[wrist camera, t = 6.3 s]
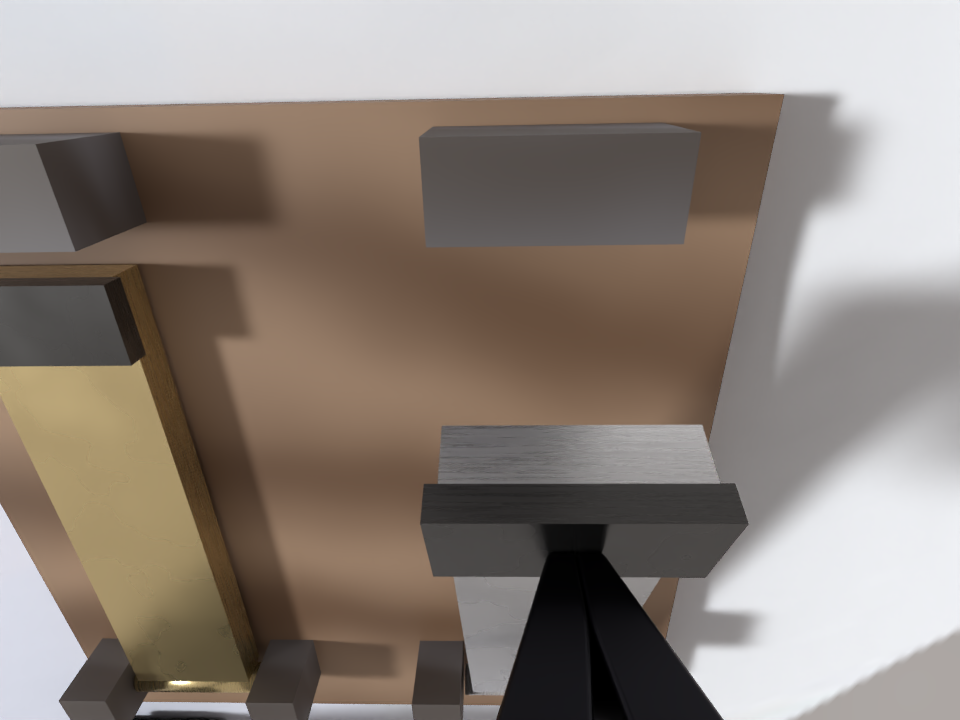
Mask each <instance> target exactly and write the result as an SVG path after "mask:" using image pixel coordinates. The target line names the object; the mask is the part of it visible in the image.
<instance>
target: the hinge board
mask: <svg viewBox="0 0 960 720" xmlns="http://www.w3.org/2000/svg"><path fill="white" fill-rule="evenodd" d="M783 97H784V94H764V93H726V94H675V95H624V96H573V97H522V98H471V99H420V100H369V101H318V102H267V103H216V104H165V105H113V106H62V107H11V108H0V266H44V265H129V264H137V265H138V268H139V271H140V275H141V278H142V281H143V284H144V287H145V291H146V294H147V297H148V300H149V303H150V307H151V310H152V313H153V316H154V319H155V323H156V326H157V329H158V332H159V335H160V339H161V342H162V345H163V348H164V351H165V355H166V358H167V361H168V364H169V367H170V370H171V374H172V377H173V380H174V383H175V386H176V390H177V393H178V396H179V399H180V402H181V406H182V409H183V412H184V415H185V418H186V422H187V425H188V428H189V431H190V434H191V438H192V441H193V444H194V447H195V450H196V454H197V457H198V460H199V463H200V466H201V470H202V473H203V476H204V479H205V482H206V486H207V489H208V492H209V495H210V498H211V502H212V505H213V508H214V511H215V514H216V518H217V521H218V524H219V527H220V530H221V534H222V537H223V540H224V543H225V546H226V550H227V553H228V556H229V559H230V562H231V566H232V569H233V572H234V575H235V578H236V581H237V585H238V588H239V591H240V594H241V597H242V601H243V604H244V607H245V610H246V613H247V617H248V620H249V623H250V626H251V629H252V633H253V636H254V639H255V642H256V645H257V649H258V652H259V655H260V656H259V658H258V661H257V662H261V665H260V667H259V670H258V672H257V675H256V677H255V680H254V682H253V685H252V687H251V690H250V693H203V692H136V691H135V689H134V677H135V673H134V671H133V668H132V666H131V664H130V662H129V660H128V658H127V656H126V654H125V652H124V650H123V648H122V646H121V644H120V642H119V640H118V638H117V636H116V633H115V631H114V629H113V627H112V625H111V623H110V621H109V619H108V617H107V615H106V613H105V611H104V609H103V607H102V605H101V603H100V601H99V598H98V596H97V594H96V592H95V590H94V588H93V586H92V584H91V582H90V580H89V578H88V576H87V574H86V572H85V570H84V568H83V565H82V563H81V561H80V559H79V557H78V555H77V553H76V551H75V549H74V547H73V545H72V543H71V541H70V539H69V537H68V535H67V533H66V530H65V528H64V526H63V524H62V522H61V520H60V518H59V516H58V514H57V512H56V510H55V508H54V506H53V504H52V502H51V500H50V498H49V495H48V493H47V491H46V489H45V487H44V485H43V483H42V481H41V479H40V477H39V475H38V473H37V471H36V469H35V467H34V465H33V462H32V460H31V458H30V456H29V454H28V452H27V450H26V448H25V446H24V444H23V442H22V440H21V438H20V436H19V434H18V432H17V430H16V427H15V425H14V423H13V421H12V419H11V417H10V415H9V413H8V411H7V409H6V407H5V405H4V403H3V401H2V399H1V397H0V503H1V505H2V507H3V509H4V511H5V512H6V514H7V516H8V518H9V519H10V521H11V523H12V525H13V527H14V528H15V530H16V532H17V534H18V535H19V537H20V539H21V541H22V543H23V544H24V546H25V548H26V550H27V551H28V553H29V555H30V557H31V559H32V560H33V562H34V564H35V566H36V568H37V569H38V571H39V573H40V575H41V576H42V578H43V580H44V582H45V584H46V585H47V587H48V589H49V591H50V592H51V594H52V596H53V598H54V600H55V601H56V603H57V605H58V607H59V608H60V610H61V612H62V614H63V616H64V617H65V619H66V621H67V623H68V624H69V626H70V628H71V630H72V632H73V633H74V635H75V637H76V639H77V640H78V642H79V644H80V646H81V648H82V649H83V651H84V653H85V655H86V656H87V658H88V660H87V661H86V662H85V664H84V665H83V667H82V668H81V670H80V671H79V672H78V674H77V675H76V677H75V678H74V680H73V681H72V683H71V684H70V685H69V687H68V688H67V690H66V691H65V693H64V694H63V695H62V697H61V698H60V700H59V702H60V704H61V705H62V707H63V709H64V710H65V712H66V713H67V715H68V716H69V718H70V720H133V718H134V716H135V715H136V713H137V711H138V709H139V708H140V706H141V704H142V702H232V703H246V706H247V709H248V711H249V714H250V717H251V719H252V720H308V717H309V714H310V710H311V707H312V703H331V704H412V711H413V718H414V720H463V705H501V703H502V700H503V696H504V695H465V666H466V663H468V659H467V653H466V648H465V642H464V636H463V630H462V624H461V618H460V612H459V606H458V601H457V595H456V589H455V583H454V577H433V574H432V570H431V566H430V562H429V558H428V554H427V550H426V546H425V542H424V538H423V534H422V530H421V526H420V519H421V508H422V496H423V485H424V484H438V471H439V457H440V443H441V429H442V426H478V425H702V426H703V429H704V432H705V435H706V439H707V442H709V437H710V433H711V428H712V424H713V419H714V414H715V410H716V405H717V401H718V396H719V391H720V387H721V382H722V378H723V373H724V368H725V364H726V359H727V355H728V350H729V345H730V341H731V336H732V332H733V327H734V322H735V318H736V313H737V309H738V304H739V300H740V295H741V290H742V286H743V281H744V277H745V272H746V267H747V263H748V258H749V254H750V249H751V244H752V240H753V235H754V231H755V226H756V221H757V217H758V212H759V208H760V203H761V198H762V194H763V189H764V185H765V180H766V176H767V171H768V166H769V162H770V157H771V153H772V148H773V143H774V139H775V134H776V130H777V125H778V120H779V116H780V111H781V107H782V102H783ZM678 580H679V578H660V580H659V581H658V583H657V584H656V586H655V588H654V589H653V591H652V592H651V594H650V595H649V597H648V599H647V600H646V602H645V603H644V605H643V606H642V608H643V609H644V610H645V612H646V613H647V614H648V616H649V617H650V619H651V620H652V621H653V623H654V624H655V626H656V627H657V628H658V630H659V631H660V632H661V634H662V635H663V637H664V638H665V639H666V635H667V630H668V626H669V621H670V616H671V612H672V607H673V603H674V598H675V593H676V589H677V584H678Z"/></svg>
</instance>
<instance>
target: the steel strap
mask: <svg viewBox="0 0 960 720" xmlns="http://www.w3.org/2000/svg"><path fill="white" fill-rule="evenodd" d="M747 525H748V521H747V518H746V515H745V512H744V509H743V506H742V503H741V500H740V497H739V494H738V491H737V488H736V485H735V484H721V483H720V480H719V477H718V474H717V470H716V467H715V464H714V461H713V458H712V454H711V451H710V448H709V445H708V442H707V439H706V435H705V432H704V429H703V426H702V425H478V426H442V429H441V443H440V457H439V471H438V484H424V485H423V496H422V508H421V519H420V526H421V530H422V534H423V538H424V542H425V546H426V550H427V554H428V558H429V562H430V566H431V570H432V574H433V577H454V583H455V589H456V595H457V601H458V606H459V612H460V618H461V624H462V630H463V636H464V642H465V648H466V653H467V659H468V663H466V666H465V695H504V693H505V690H506V687H507V683H508V680H509V677H510V674H511V670H512V667H513V664H514V661H515V657H516V654H517V651H518V648H519V644H520V641H521V638H522V635H523V631H524V628H525V625H526V622H527V619H528V615H529V612H530V609H531V606H532V602H533V599H534V596H535V593H536V589H537V586H538V583H539V580H540V576H541V573H542V570H543V567H544V563H545V560H546V557H547V555H548V554H549V553H551V552H570V553H573V554H574V555H575V556H576V554H578V553H581V552H583V553H602V554H603V555H605V557H606V558H607V559H608V560H609V562H610V563H611V565H612V566H613V567H614V569H615V570H616V572H617V573H618V574H619V576H620V577H621V578H622V580H623V581H624V583H625V584H626V585H627V587H628V588H629V590H630V591H631V592H632V594H633V595H634V596H635V598H636V599H637V601H638V602H639V603H640V605H641V606H643V605H644V603H645V602H646V600H647V599H648V597H649V595H650V594H651V592H652V591H653V589H654V588H655V586H656V584H657V583H658V581H659V580H660V578H705V577H706V576H707V575H708V574H709V572H710V571H711V570H712V569H713V567H714V566H715V565H716V564H717V562H718V561H719V560H720V559H721V558H722V556H723V555H724V554H725V553H726V551H727V550H728V549H729V548H730V546H731V545H732V544H733V543H734V541H735V540H736V539H737V538H738V536H739V535H740V534H741V533H742V532H743V530H744V529H745V528H746V527H747Z"/></svg>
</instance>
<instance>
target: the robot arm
mask: <svg viewBox="0 0 960 720" xmlns="http://www.w3.org/2000/svg"><path fill="white" fill-rule="evenodd" d="M496 720H723V718H722V717H721V716H720V714H719V713H718V711H717V710H716V709H715V707H714V706H713V704H712V703H711V702H710V700H709V699H708V698H707V696H706V695H705V693H704V692H703V691H702V689H701V688H700V686H699V685H698V684H697V682H696V681H695V680H694V678H693V677H692V675H691V674H690V673H689V671H688V670H687V668H686V667H685V666H684V664H683V663H682V662H681V660H680V659H679V657H678V656H677V655H676V653H675V652H674V650H673V649H672V648H671V646H670V645H669V644H668V642H667V641H666V639H665V638H664V637H663V635H662V634H661V632H660V631H659V630H658V628H657V627H656V626H655V624H654V623H653V621H652V620H651V619H650V617H649V616H648V614H647V613H646V612H645V610H644V609H643V608H642V606H641V605H640V603H639V602H638V601H637V599H636V598H635V596H634V595H633V594H632V592H631V591H630V590H629V588H628V587H627V585H626V584H625V583H624V581H623V580H622V578H621V577H620V576H619V574H618V573H617V572H616V570H615V569H614V567H613V566H612V565H611V563H610V562H609V560H608V559H607V558H606V557H605V555H603V554H602V553H583V552H581V553H578V554H576V556H575V555H574V554H573V553H570V552H551V553H549V554H548V555H547V557H546V560H545V563H544V567H543V570H542V573H541V576H540V580H539V583H538V586H537V589H536V593H535V596H534V599H533V602H532V606H531V609H530V612H529V615H528V619H527V622H526V625H525V628H524V631H523V635H522V638H521V641H520V644H519V648H518V651H517V654H516V657H515V661H514V664H513V667H512V670H511V674H510V677H509V680H508V683H507V687H506V690H505V693H504V696H503V700H502V703H501V706H500V709H499V713H498V716H497V719H496Z"/></svg>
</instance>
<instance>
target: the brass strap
mask: <svg viewBox="0 0 960 720" xmlns="http://www.w3.org/2000/svg"><path fill="white" fill-rule="evenodd" d="M0 397H1V399H2V401H3V403H4V405H5V407H6V409H7V411H8V413H9V415H10V417H11V419H12V421H13V423H14V425H15V427H16V430H17V432H18V434H19V436H20V438H21V440H22V442H23V444H24V446H25V448H26V450H27V452H28V454H29V456H30V458H31V460H32V462H33V465H34V467H35V469H36V471H37V473H38V475H39V477H40V479H41V481H42V483H43V485H44V487H45V489H46V491H47V493H48V495H49V498H50V500H51V502H52V504H53V506H54V508H55V510H56V512H57V514H58V516H59V518H60V520H61V522H62V524H63V526H64V528H65V530H66V533H67V535H68V537H69V539H70V541H71V543H72V545H73V547H74V549H75V551H76V553H77V555H78V557H79V559H80V561H81V563H82V565H83V568H84V570H85V572H86V574H87V576H88V578H89V580H90V582H91V584H92V586H93V588H94V590H95V592H96V594H97V596H98V598H99V601H100V603H101V605H102V607H103V609H104V611H105V613H106V615H107V617H108V619H109V621H110V623H111V625H112V627H113V629H114V631H115V633H116V636H117V638H118V640H119V642H120V644H121V646H122V648H123V650H124V652H125V654H126V656H127V658H128V660H129V662H130V664H131V666H132V668H133V671H134V673H135V677H134V689H135V691H136V692H203V693H250V690H251V687H252V685H253V682H254V680H255V677H256V675H257V672H258V670H259V667H260V665H261V662H257V661H258V658H259V656H260V655H259V652H258V649H257V645H256V642H255V639H254V636H253V633H252V629H251V626H250V623H249V620H248V617H247V613H246V610H245V607H244V604H243V601H242V597H241V594H240V591H239V588H238V585H237V581H236V578H235V575H234V572H233V569H232V566H231V562H230V559H229V556H228V553H227V550H226V546H225V543H224V540H223V537H222V534H221V530H220V527H219V524H218V521H217V518H216V514H215V511H214V508H213V505H212V502H211V498H210V495H209V492H208V489H207V486H206V482H205V479H204V476H203V473H202V470H201V466H200V463H199V460H198V457H197V454H196V450H195V447H194V444H193V441H192V438H191V434H190V431H189V428H188V425H187V422H186V418H185V415H184V412H183V409H182V406H181V402H180V399H179V396H178V393H177V390H176V386H175V383H174V380H173V377H172V374H171V370H170V367H169V364H168V361H167V358H166V355H165V351H164V348H163V345H162V342H161V339H160V335H159V332H158V329H157V326H156V323H155V319H154V316H153V313H152V310H151V307H150V303H149V300H148V297H147V294H146V291H145V287H144V284H143V281H142V278H141V275H140V271H139V268H138V265H137V264H129V265H44V266H0Z"/></svg>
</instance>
